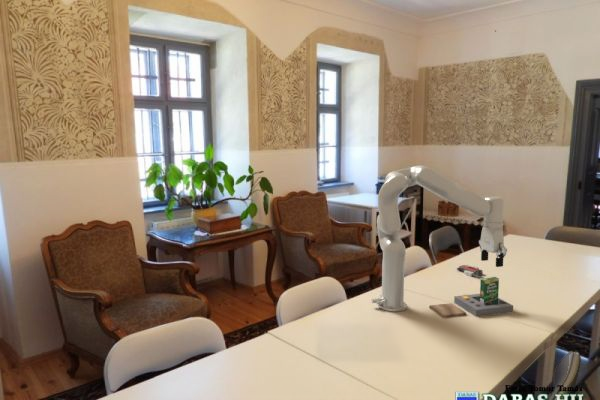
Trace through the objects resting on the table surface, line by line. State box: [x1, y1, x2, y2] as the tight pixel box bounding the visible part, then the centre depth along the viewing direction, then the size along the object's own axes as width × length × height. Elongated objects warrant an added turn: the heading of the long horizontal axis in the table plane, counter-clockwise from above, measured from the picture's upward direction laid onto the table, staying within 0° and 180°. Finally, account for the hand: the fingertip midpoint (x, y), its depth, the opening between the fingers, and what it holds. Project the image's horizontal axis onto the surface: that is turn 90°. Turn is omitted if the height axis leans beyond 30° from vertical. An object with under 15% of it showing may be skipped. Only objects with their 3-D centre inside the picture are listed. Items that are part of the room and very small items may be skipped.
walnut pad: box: [428, 302, 467, 319], centre depth 183 cm, size 11×11×1 cm
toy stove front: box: [453, 293, 514, 317], centre depth 187 cm, size 18×16×4 cm
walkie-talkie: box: [456, 264, 485, 279], centre depth 232 cm, size 9×4×20 cm
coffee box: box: [479, 276, 500, 306], centre depth 187 cm, size 8×3×13 cm, turn 107°
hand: (491, 263), depth 185 cm, fingers open, 9 cm apart
